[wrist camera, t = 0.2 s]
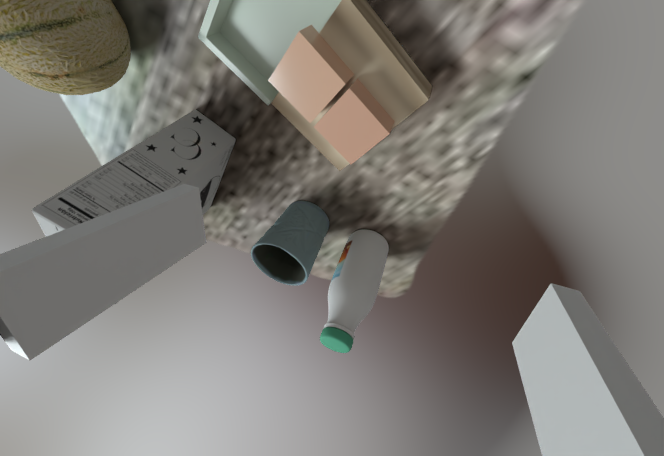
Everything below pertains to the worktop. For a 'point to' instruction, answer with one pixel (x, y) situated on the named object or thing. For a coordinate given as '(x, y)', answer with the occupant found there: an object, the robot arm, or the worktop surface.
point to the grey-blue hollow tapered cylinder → (292, 243)
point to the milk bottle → (354, 287)
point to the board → (364, 71)
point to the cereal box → (145, 174)
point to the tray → (259, 35)
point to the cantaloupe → (64, 44)
